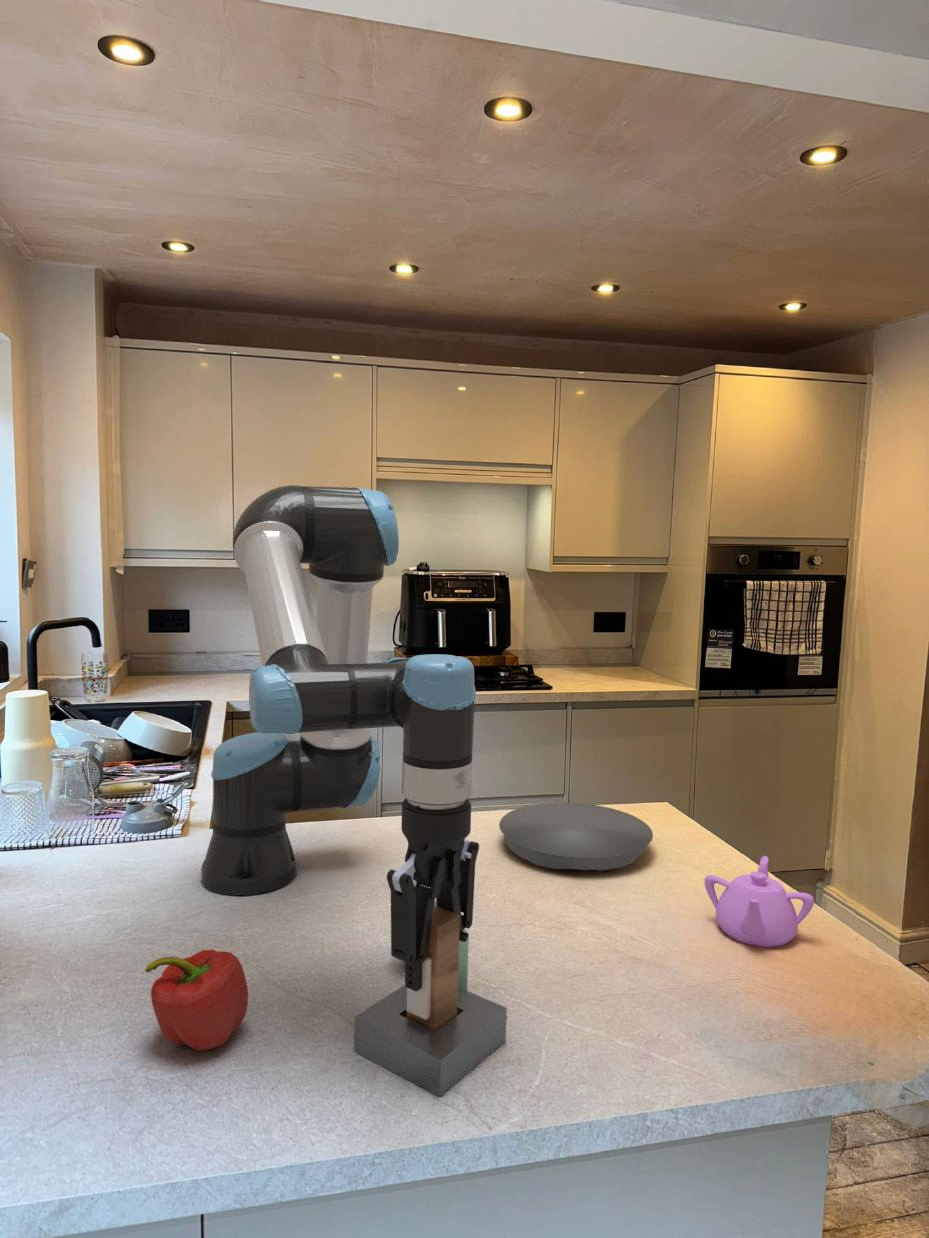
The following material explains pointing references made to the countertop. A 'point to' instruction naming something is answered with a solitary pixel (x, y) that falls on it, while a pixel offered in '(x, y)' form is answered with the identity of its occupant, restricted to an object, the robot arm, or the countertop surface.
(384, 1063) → the bore block
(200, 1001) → the vegetable
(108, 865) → the countertop surface
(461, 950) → the green round bit
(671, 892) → the countertop surface
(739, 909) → the teapot
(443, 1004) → the walnut square peg
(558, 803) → the flat disc
